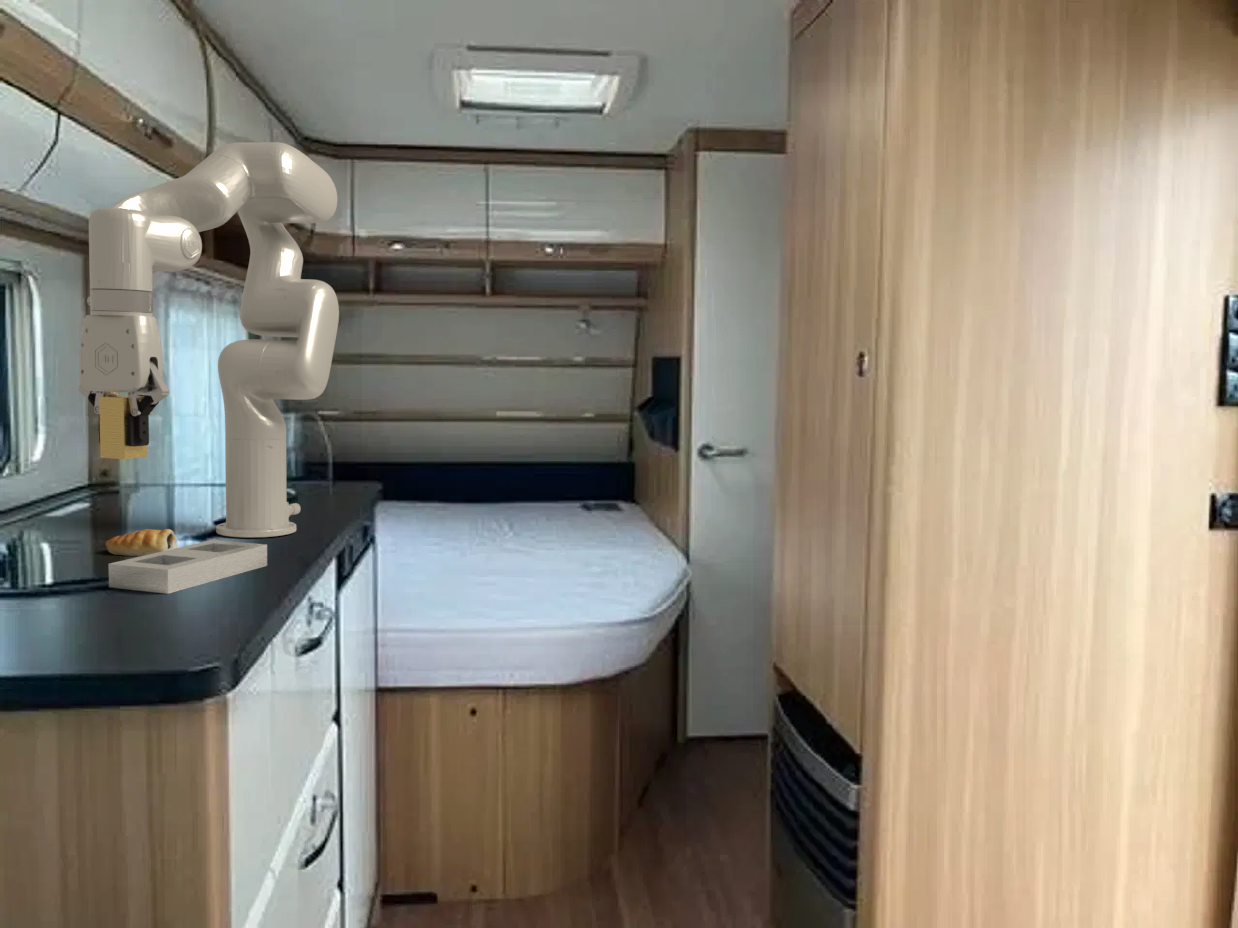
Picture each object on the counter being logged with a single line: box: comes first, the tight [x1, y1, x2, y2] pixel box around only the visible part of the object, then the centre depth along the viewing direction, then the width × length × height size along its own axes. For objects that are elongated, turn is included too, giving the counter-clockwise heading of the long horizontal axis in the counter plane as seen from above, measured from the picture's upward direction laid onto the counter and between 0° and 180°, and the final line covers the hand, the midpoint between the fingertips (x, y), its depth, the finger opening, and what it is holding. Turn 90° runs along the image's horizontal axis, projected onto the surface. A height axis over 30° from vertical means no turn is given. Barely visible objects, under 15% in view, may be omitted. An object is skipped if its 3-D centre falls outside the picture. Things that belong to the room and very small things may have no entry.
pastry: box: [105, 528, 178, 557], centre depth 163 cm, size 9×7×4 cm
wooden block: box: [99, 395, 148, 460], centre depth 146 cm, size 4×4×8 cm
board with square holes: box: [108, 539, 268, 595], centre depth 147 cm, size 20×9×3 cm, turn 162°
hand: (124, 443), depth 147 cm, fingers closed on wooden block, 4 cm apart
